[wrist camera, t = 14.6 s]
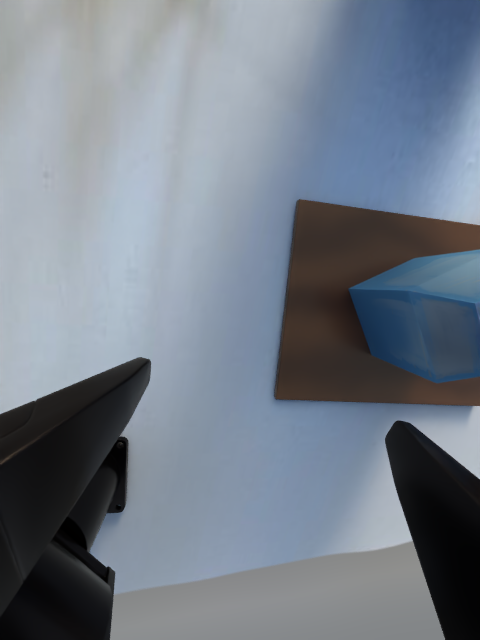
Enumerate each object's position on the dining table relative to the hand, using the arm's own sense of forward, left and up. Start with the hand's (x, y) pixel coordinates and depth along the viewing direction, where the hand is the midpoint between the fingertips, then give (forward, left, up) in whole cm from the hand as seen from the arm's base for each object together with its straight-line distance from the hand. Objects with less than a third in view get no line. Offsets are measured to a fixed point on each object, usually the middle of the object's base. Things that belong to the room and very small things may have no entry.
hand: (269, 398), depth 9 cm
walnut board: (+3, -14, -12) cm, 18 cm away
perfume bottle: (+3, -13, -11) cm, 17 cm away
